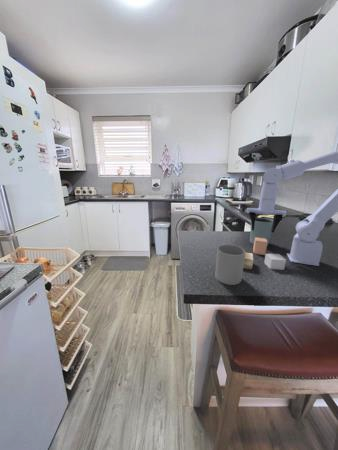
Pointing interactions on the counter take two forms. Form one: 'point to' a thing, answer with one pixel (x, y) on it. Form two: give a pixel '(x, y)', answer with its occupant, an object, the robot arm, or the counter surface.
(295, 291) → the counter surface
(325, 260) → the counter surface
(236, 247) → the cup
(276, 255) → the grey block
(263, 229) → the teal round container
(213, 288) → the counter surface
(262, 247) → the terracotta block
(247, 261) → the oak base block
